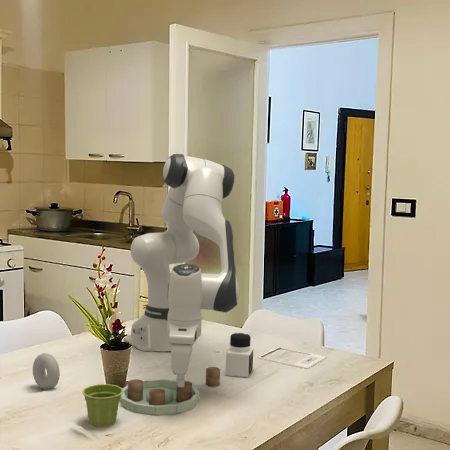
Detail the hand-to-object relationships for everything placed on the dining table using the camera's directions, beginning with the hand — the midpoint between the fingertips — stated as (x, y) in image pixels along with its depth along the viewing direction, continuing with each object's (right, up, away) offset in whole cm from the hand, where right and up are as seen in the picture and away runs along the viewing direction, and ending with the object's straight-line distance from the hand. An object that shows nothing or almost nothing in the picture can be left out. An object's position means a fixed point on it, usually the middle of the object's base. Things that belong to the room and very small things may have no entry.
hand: (182, 379), depth 169 cm
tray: (-6, -6, 0) cm, 9 cm away
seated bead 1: (-12, -5, 0) cm, 13 cm away
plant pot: (-18, -8, -14) cm, 24 cm away
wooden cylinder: (+8, -5, +17) cm, 19 cm away
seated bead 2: (-6, -6, -6) cm, 10 cm away
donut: (-38, -5, +8) cm, 39 cm away
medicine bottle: (+15, -5, +27) cm, 32 cm away
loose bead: (0, -5, 0) cm, 5 cm away
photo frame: (+33, -4, +43) cm, 55 cm away
